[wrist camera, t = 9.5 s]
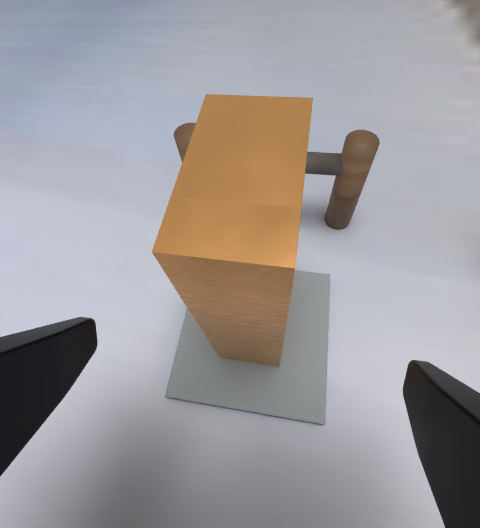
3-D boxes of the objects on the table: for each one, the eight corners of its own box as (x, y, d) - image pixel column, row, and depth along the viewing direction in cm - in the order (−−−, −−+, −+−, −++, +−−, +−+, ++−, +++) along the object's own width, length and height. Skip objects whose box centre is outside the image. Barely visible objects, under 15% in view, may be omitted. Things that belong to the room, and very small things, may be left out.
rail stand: (349, 230, 26) (380, 154, 19) (195, 216, 28) (170, 142, 21) (349, 210, 27) (378, 130, 20) (200, 198, 29) (178, 122, 22)
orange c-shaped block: (279, 367, 21) (295, 268, 8) (219, 357, 21) (152, 251, 9) (290, 271, 24) (312, 97, 12) (237, 265, 24) (206, 94, 12)
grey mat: (323, 424, 19) (324, 424, 19) (167, 397, 21) (165, 396, 20) (328, 277, 24) (330, 274, 23) (200, 264, 25) (199, 260, 25)
